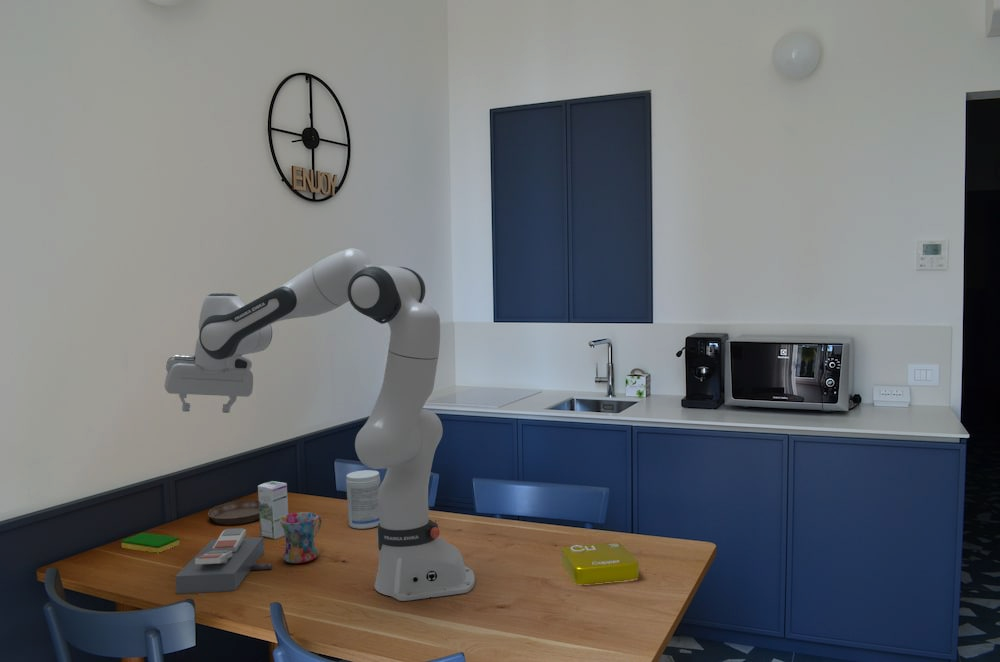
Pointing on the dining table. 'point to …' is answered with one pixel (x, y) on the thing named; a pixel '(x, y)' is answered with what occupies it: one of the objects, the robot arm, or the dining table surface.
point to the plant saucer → (236, 512)
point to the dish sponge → (150, 542)
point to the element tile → (599, 563)
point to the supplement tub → (363, 498)
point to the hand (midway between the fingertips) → (205, 411)
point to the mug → (300, 536)
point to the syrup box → (272, 508)
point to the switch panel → (221, 569)
